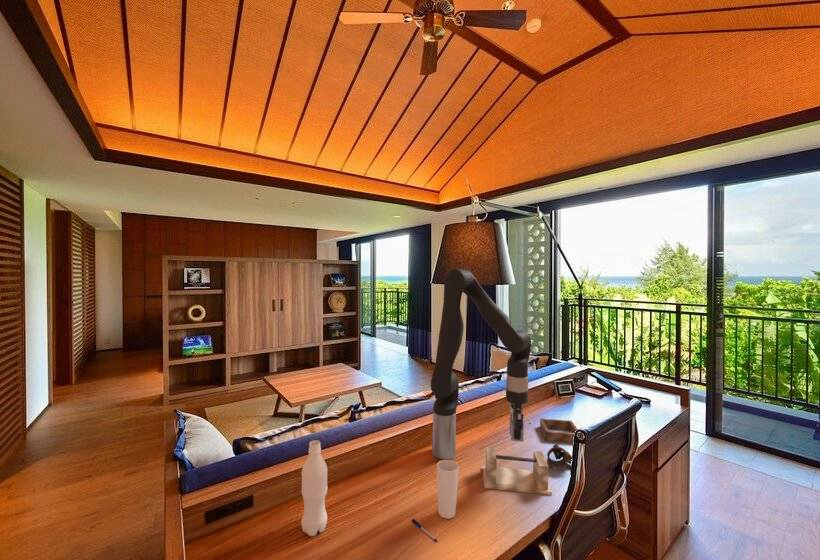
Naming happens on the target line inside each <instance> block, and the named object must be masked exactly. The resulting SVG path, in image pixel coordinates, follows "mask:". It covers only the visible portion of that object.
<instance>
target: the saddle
mask: <svg viewBox="0 0 820 560" xmlns="http://www.w3.org/2000/svg"><path fill="white" fill-rule="evenodd" d="M514 419H515V418H514ZM517 425H520V424H517ZM524 429H525V428H524V423H523V429H522V430H521V439H520V440H516V439H514V422H513V421H512V417H511V416H510V417H509V436H510V441H511V442H520V443H521V442H523V443H524Z"/></svg>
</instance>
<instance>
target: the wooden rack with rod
mask: <svg viewBox="0 0 820 560" xmlns="http://www.w3.org/2000/svg"><path fill="white" fill-rule="evenodd" d="M495 450H496V448H495V446H485V465H482V477H483V485H484V486H483V487H484V489H491V490H502V491H511V492H518V493H519V492H520V493H529V494H539V495H545V496H546V495H548V496H552V495H553V492H552V489H551V487H550V486H551V485H550V484H549V472H550V471H549V467H550V466H548V464H547V458H546V457H545V455H544V452H543V451H542V450H533V455H532V456H533V457H524V456H511V455H500V454H499V455H498V454H496V451H495ZM498 460H504V461H505V460H506V461H517V462H527V463H532V470H530V469H519V468H510V467H500V466H499V467H498V466H497V463H498V462H497V461H498Z"/></svg>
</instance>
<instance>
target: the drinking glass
mask: <svg viewBox="0 0 820 560" xmlns="http://www.w3.org/2000/svg"><path fill="white" fill-rule="evenodd" d="M459 479H460V467H459V464H458V463H457V462H456V461H454V460H451V459H440V461H438V462H437V464H436V488H437V490H436V491H437V493H436V494H437V506H438V509H437V512H438V515H439V516H440V517H441V518H442V519H446V520H449V519H453V518H454V517H455V516H456V514H457V501H458V489H459V481H460V480H459Z"/></svg>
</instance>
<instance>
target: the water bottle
mask: <svg viewBox="0 0 820 560" xmlns="http://www.w3.org/2000/svg"><path fill="white" fill-rule="evenodd" d="M308 447H309V448H308V455H307V458H306V460H305V463H304V464H303V466H302V469H301V495H302V499H303V507H304V508H303V515H302V517H301V520H300V525H301V529H302V531H303V532H304V534H307V535H308V537H309V536H310V537H315V536H317V534H318V532H319V533H323V532H324V531H325V528H326V526H327V523H328V514H327V510H326V503H325V499H326V496H327V493H328V491H329V490H328V465H327V462H326V461H325V459H324V457H323V456H322V453H321V452H322V448H321V447H322V446H321V441H320V440H314V439H313V440H311V441H309V445H308Z"/></svg>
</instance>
